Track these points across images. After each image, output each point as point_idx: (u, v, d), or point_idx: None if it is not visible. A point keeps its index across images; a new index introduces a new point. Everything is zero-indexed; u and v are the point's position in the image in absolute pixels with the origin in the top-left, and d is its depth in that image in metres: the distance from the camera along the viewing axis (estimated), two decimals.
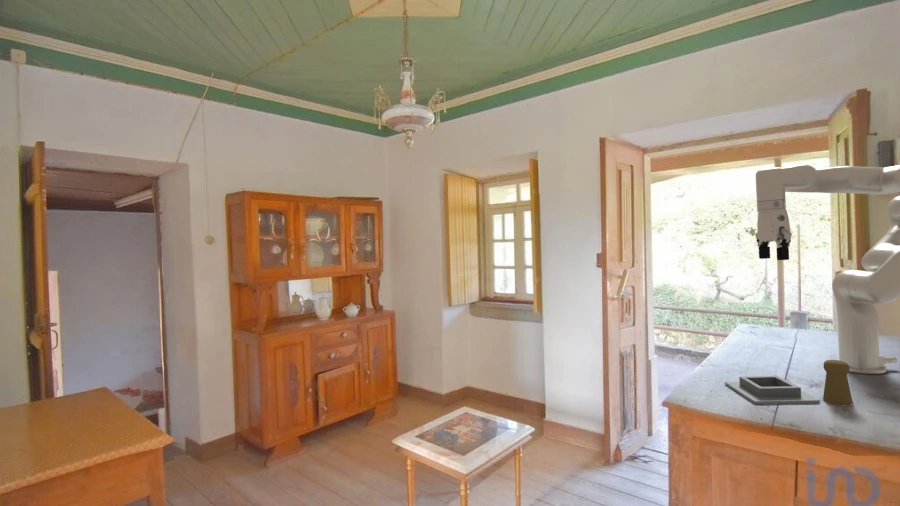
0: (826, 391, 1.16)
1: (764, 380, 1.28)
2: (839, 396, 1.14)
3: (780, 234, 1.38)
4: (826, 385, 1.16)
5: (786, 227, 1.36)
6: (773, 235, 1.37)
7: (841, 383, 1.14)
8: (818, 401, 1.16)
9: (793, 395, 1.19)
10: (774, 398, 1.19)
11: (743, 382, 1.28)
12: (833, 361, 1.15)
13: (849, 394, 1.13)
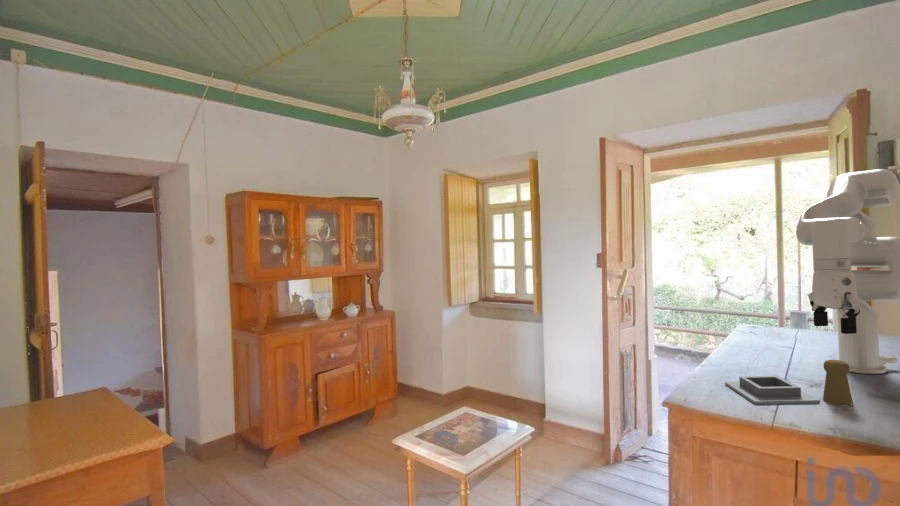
0: (826, 391, 1.16)
1: (764, 380, 1.28)
2: (839, 396, 1.14)
3: (844, 301, 1.12)
4: (826, 385, 1.16)
5: (853, 293, 1.10)
6: (836, 302, 1.11)
7: (841, 383, 1.14)
8: (818, 401, 1.16)
9: (793, 395, 1.19)
10: (774, 398, 1.19)
11: (743, 382, 1.28)
12: (833, 361, 1.15)
13: (849, 394, 1.13)
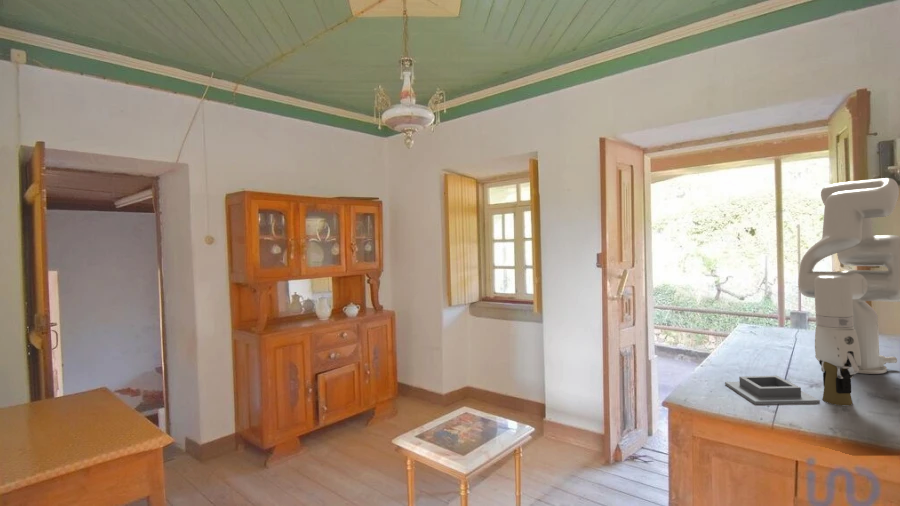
0: (825, 390, 1.16)
1: (764, 380, 1.28)
2: (838, 396, 1.14)
3: None
4: (826, 385, 1.16)
5: (856, 352, 1.10)
6: (839, 360, 1.12)
7: None
8: (818, 401, 1.16)
9: (793, 395, 1.19)
10: (774, 398, 1.19)
11: (743, 382, 1.28)
12: None
13: (849, 394, 1.14)
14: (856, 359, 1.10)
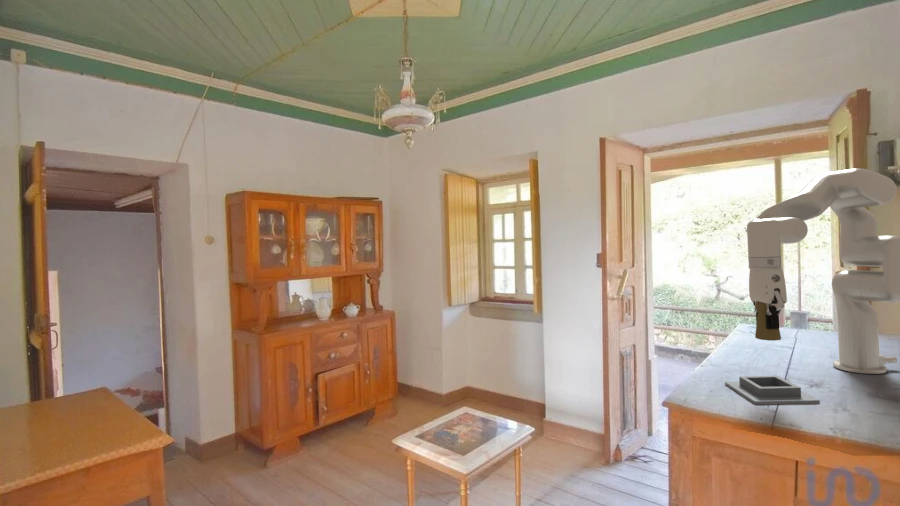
0: (757, 328, 1.24)
1: (764, 380, 1.28)
2: (768, 332, 1.22)
3: None
4: (757, 323, 1.24)
5: (782, 289, 1.18)
6: (767, 298, 1.20)
7: None
8: (818, 401, 1.16)
9: (793, 395, 1.19)
10: (774, 398, 1.19)
11: (743, 382, 1.28)
12: None
13: (777, 330, 1.21)
14: (782, 295, 1.18)
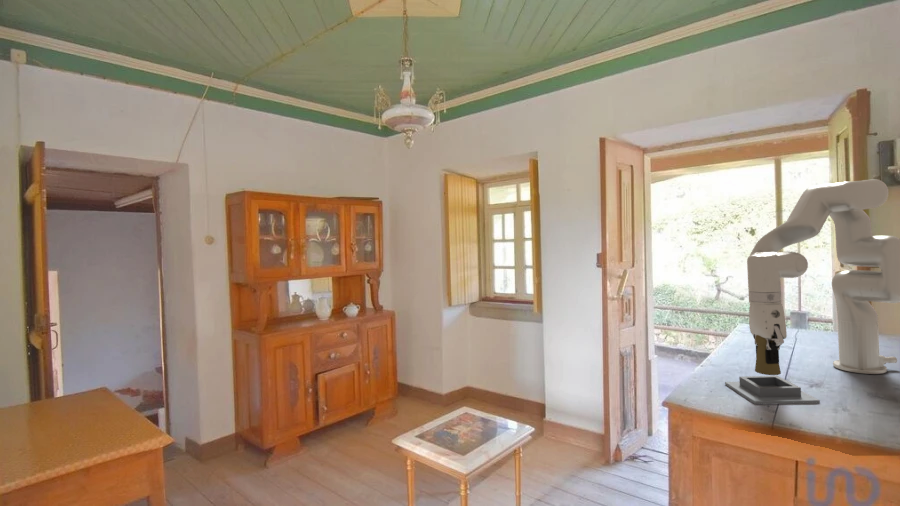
0: (756, 362, 1.25)
1: (764, 380, 1.28)
2: (767, 367, 1.22)
3: None
4: (757, 356, 1.25)
5: (781, 325, 1.19)
6: (767, 333, 1.20)
7: None
8: (818, 401, 1.16)
9: (793, 395, 1.19)
10: (774, 398, 1.19)
11: (743, 382, 1.28)
12: None
13: (777, 364, 1.22)
14: (782, 331, 1.19)
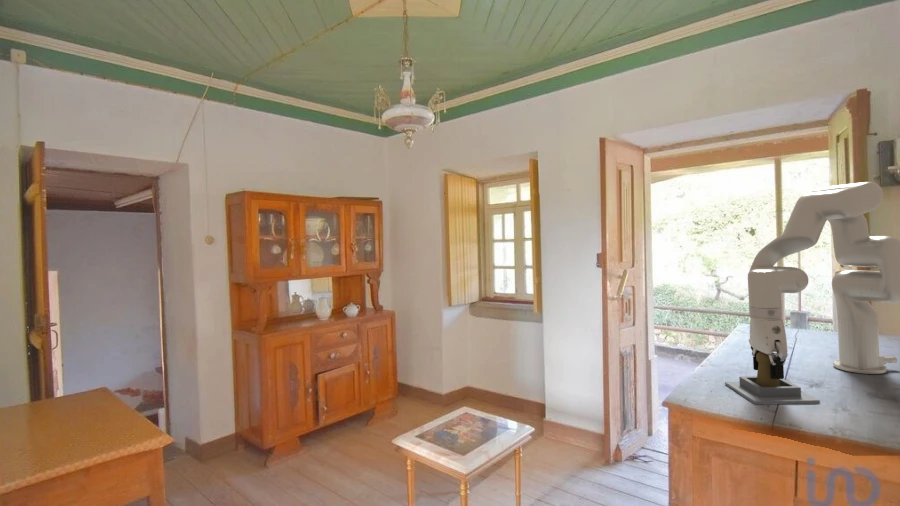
0: (757, 380, 1.25)
1: None
2: (768, 385, 1.22)
3: None
4: (758, 375, 1.25)
5: (782, 341, 1.19)
6: (767, 348, 1.20)
7: None
8: (818, 401, 1.16)
9: (793, 395, 1.19)
10: (774, 398, 1.19)
11: (743, 382, 1.28)
12: None
13: (777, 383, 1.22)
14: (783, 347, 1.19)
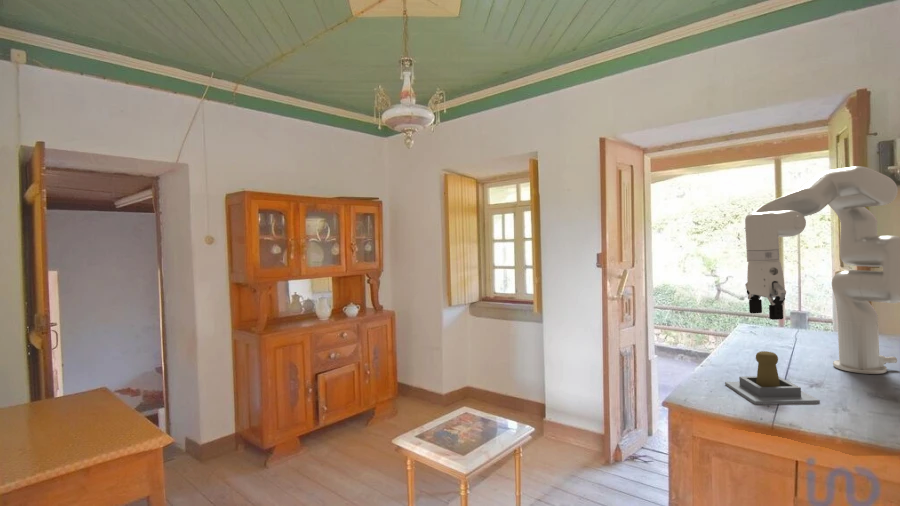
0: (757, 380, 1.25)
1: None
2: (768, 385, 1.22)
3: (773, 289, 1.20)
4: (758, 375, 1.25)
5: (780, 282, 1.19)
6: (765, 290, 1.20)
7: (770, 373, 1.22)
8: (818, 401, 1.16)
9: (793, 395, 1.19)
10: (774, 398, 1.19)
11: (743, 382, 1.28)
12: (764, 352, 1.24)
13: (777, 383, 1.22)
14: None
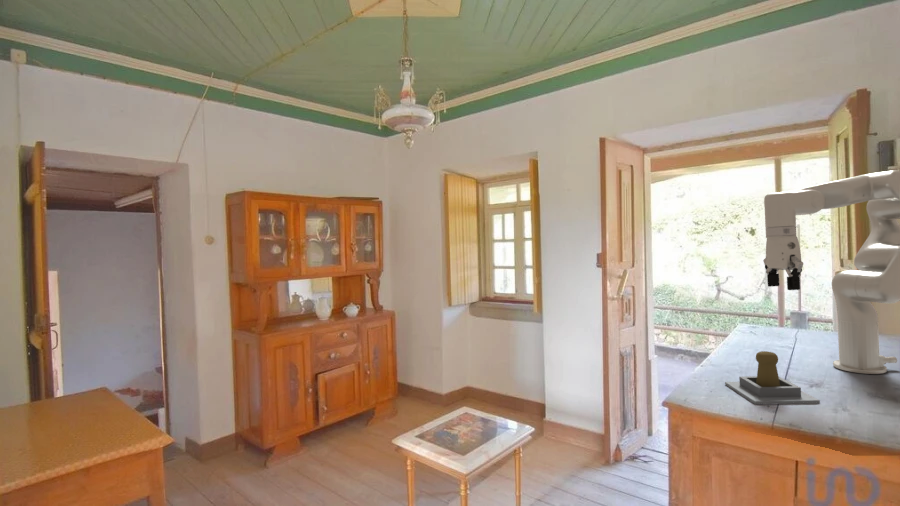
0: (757, 380, 1.25)
1: None
2: (768, 385, 1.22)
3: (790, 262, 1.31)
4: (758, 375, 1.25)
5: (797, 255, 1.29)
6: (783, 263, 1.30)
7: (770, 373, 1.22)
8: (818, 401, 1.16)
9: (793, 395, 1.19)
10: (774, 398, 1.19)
11: (743, 382, 1.28)
12: (764, 352, 1.24)
13: (777, 383, 1.22)
14: None
